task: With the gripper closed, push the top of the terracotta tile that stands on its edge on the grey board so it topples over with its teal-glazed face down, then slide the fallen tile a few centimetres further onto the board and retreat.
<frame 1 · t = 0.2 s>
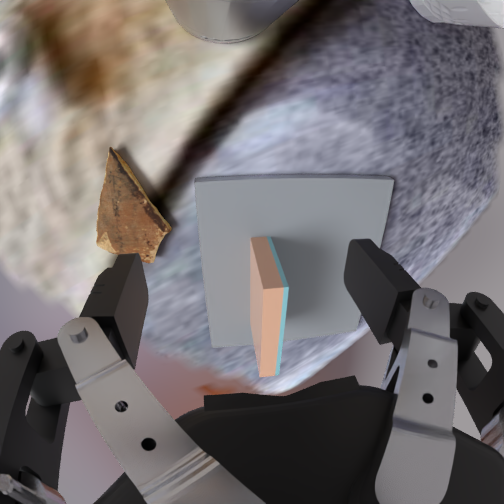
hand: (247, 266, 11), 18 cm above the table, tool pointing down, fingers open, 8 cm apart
board: (293, 268, 34), on the table
tile: (259, 284, 33), point 1 cm above the table, touching board
shard: (120, 211, 28), on the table
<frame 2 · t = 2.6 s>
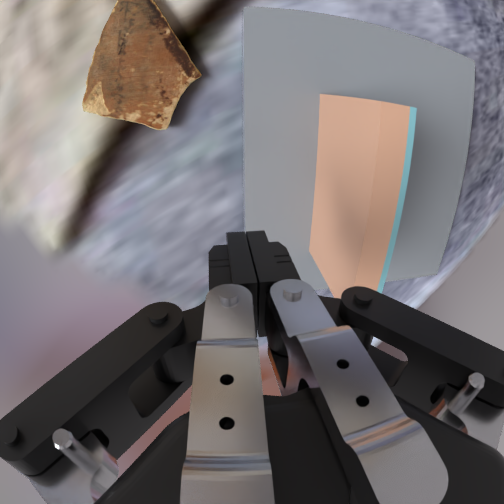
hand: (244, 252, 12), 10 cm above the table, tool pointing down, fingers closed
board: (370, 162, 22), on the table
tile: (328, 177, 21), point 1 cm above the table, touching board
shard: (125, 61, 16), on the table
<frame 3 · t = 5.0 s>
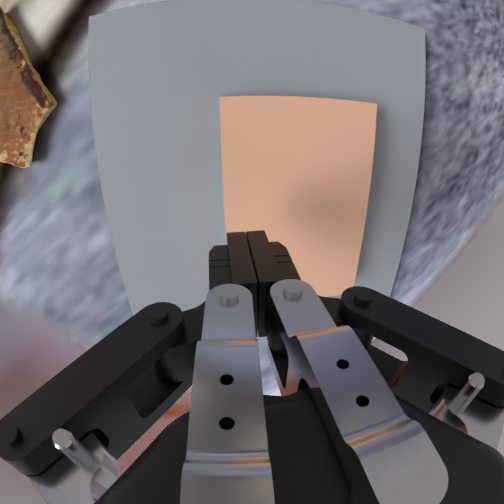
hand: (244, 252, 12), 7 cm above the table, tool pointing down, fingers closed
board: (270, 177, 18), on the table
tile: (224, 208, 16), point 2 cm above the table, tilted 90°, touching board
shard: (2, 98, 13), on the table
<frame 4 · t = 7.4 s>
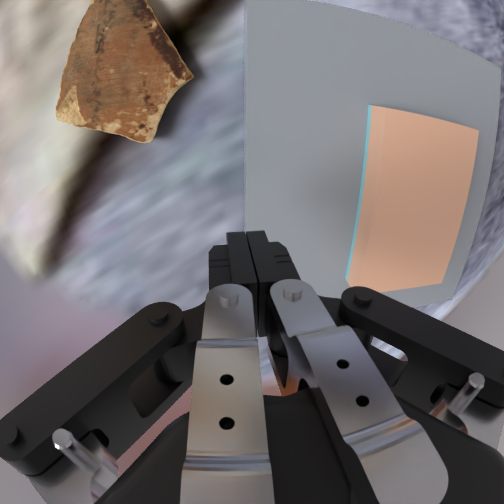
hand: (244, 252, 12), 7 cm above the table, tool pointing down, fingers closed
board: (389, 180, 19), on the table
tile: (365, 205, 17), point 2 cm above the table, tilted 90°, touching board
shard: (106, 61, 13), on the table
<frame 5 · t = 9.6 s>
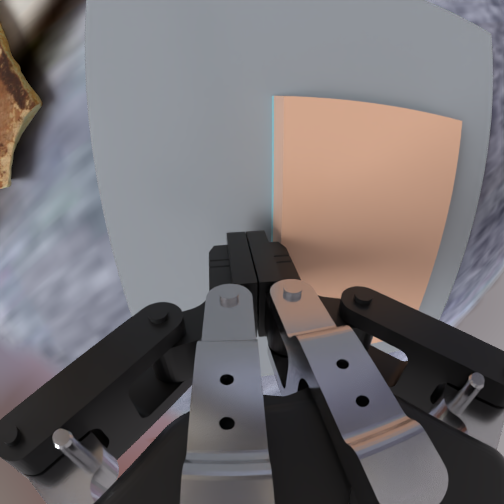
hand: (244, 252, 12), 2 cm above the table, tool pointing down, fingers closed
board: (322, 201, 14), on the table
tile: (275, 245, 13), point 2 cm above the table, tilted 90°, touching board, gripper
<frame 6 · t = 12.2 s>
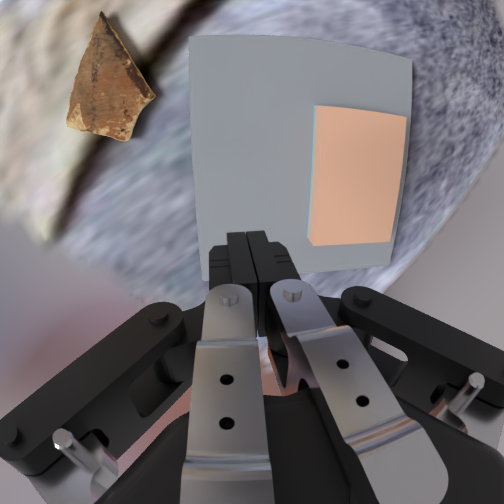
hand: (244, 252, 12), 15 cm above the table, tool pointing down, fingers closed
board: (307, 160, 26), on the table
tile: (315, 176, 24), point 2 cm above the table, tilted 90°, touching board
shard: (99, 86, 21), on the table
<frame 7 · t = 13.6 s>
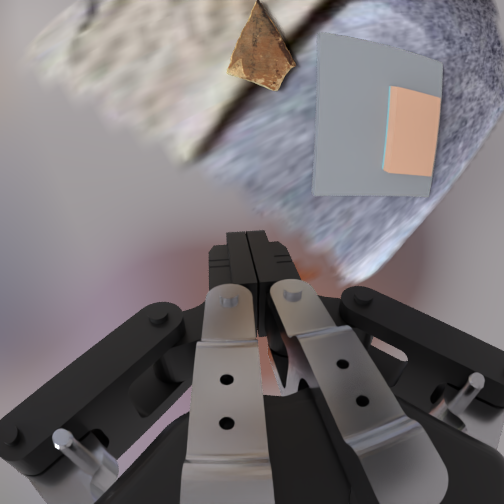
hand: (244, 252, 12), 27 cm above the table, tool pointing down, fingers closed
board: (382, 120, 36), on the table
tile: (390, 128, 35), point 2 cm above the table, tilted 90°, touching board
shard: (250, 51, 31), on the table
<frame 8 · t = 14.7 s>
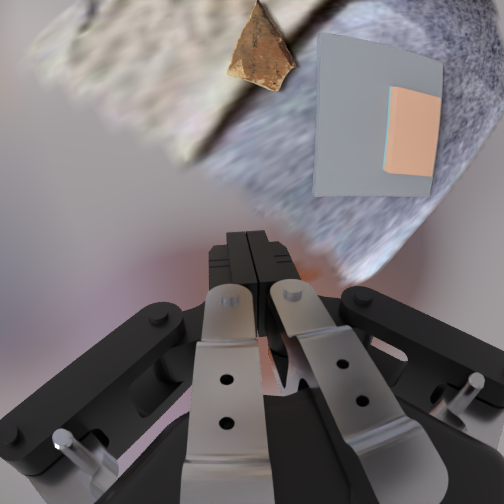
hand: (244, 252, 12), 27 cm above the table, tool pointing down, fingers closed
board: (382, 120, 36), on the table
tile: (390, 129, 34), point 2 cm above the table, tilted 90°, touching board
shard: (250, 51, 31), on the table
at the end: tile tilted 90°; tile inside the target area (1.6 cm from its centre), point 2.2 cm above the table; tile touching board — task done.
